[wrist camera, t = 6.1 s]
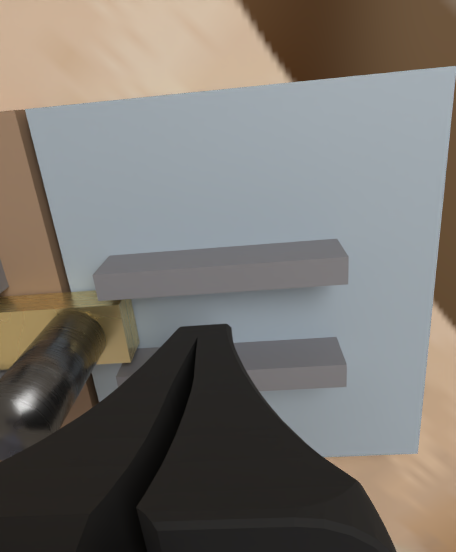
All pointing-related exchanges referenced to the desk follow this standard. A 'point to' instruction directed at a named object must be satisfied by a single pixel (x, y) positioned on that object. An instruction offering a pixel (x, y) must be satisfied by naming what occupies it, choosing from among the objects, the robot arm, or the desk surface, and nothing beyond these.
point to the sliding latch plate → (250, 235)
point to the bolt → (54, 358)
